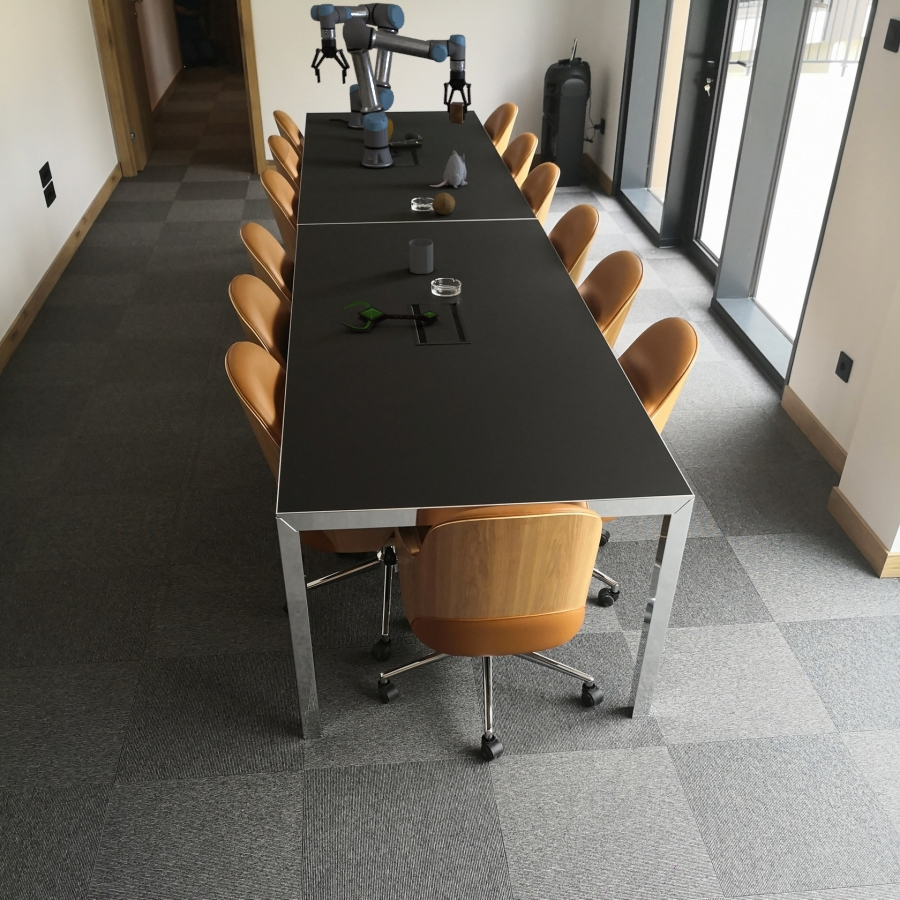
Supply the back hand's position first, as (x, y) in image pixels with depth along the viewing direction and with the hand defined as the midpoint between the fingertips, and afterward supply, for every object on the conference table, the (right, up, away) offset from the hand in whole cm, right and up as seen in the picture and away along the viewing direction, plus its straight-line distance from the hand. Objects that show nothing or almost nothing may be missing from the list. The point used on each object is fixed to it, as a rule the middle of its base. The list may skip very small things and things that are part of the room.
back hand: (331, 83), depth 451 cm
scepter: (+43, -152, -182) cm, 241 cm away
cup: (+52, -127, -143) cm, 198 cm away
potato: (+59, -92, -88) cm, 140 cm away
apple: (+26, -25, +16) cm, 40 cm away
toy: (+61, -72, -57) cm, 110 cm away
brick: (+65, -27, -17) cm, 73 cm away
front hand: (+65, -26, -18) cm, 73 cm away
